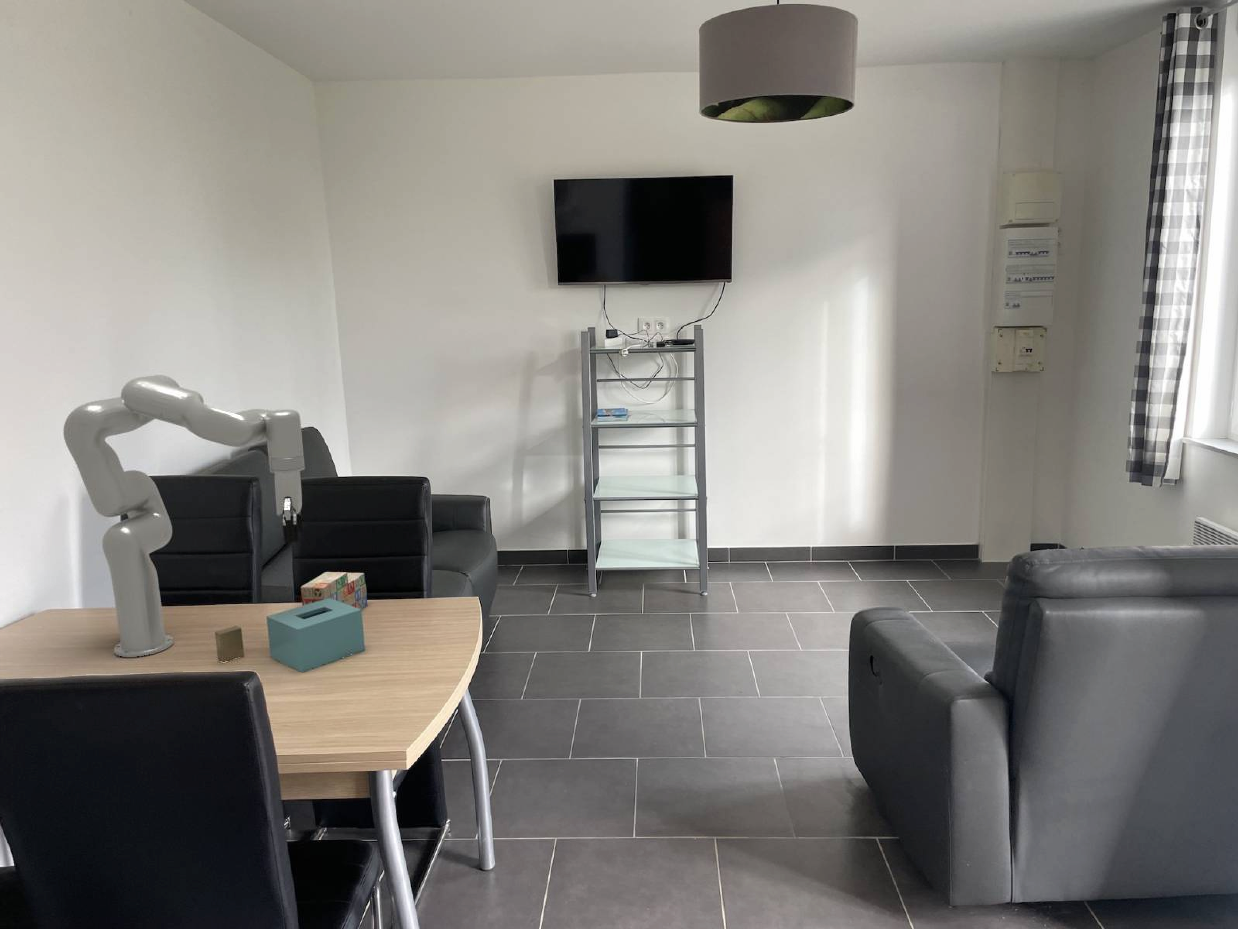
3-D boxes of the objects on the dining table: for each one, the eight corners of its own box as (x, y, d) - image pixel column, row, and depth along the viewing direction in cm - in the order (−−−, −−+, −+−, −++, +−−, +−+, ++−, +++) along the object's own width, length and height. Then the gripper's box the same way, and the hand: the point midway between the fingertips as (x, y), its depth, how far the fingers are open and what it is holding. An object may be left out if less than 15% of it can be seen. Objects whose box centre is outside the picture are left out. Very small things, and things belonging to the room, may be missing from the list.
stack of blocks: (346, 605, 242) (342, 561, 239) (368, 605, 240) (364, 562, 238) (304, 633, 221) (300, 586, 219) (327, 634, 220) (323, 587, 218)
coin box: (270, 657, 206) (266, 616, 204) (332, 637, 217) (329, 598, 216) (302, 672, 196) (297, 629, 195) (364, 650, 208) (361, 609, 207)
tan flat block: (218, 660, 205) (214, 632, 204) (239, 654, 208) (236, 625, 207) (223, 663, 203) (219, 634, 202) (244, 656, 207) (241, 628, 206)
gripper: (273, 459, 211) (280, 529, 214) (264, 471, 194) (272, 547, 197) (307, 457, 212) (313, 526, 215) (301, 469, 196) (308, 544, 199)
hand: (293, 536), depth 206 cm, fingers open, 9 cm apart
